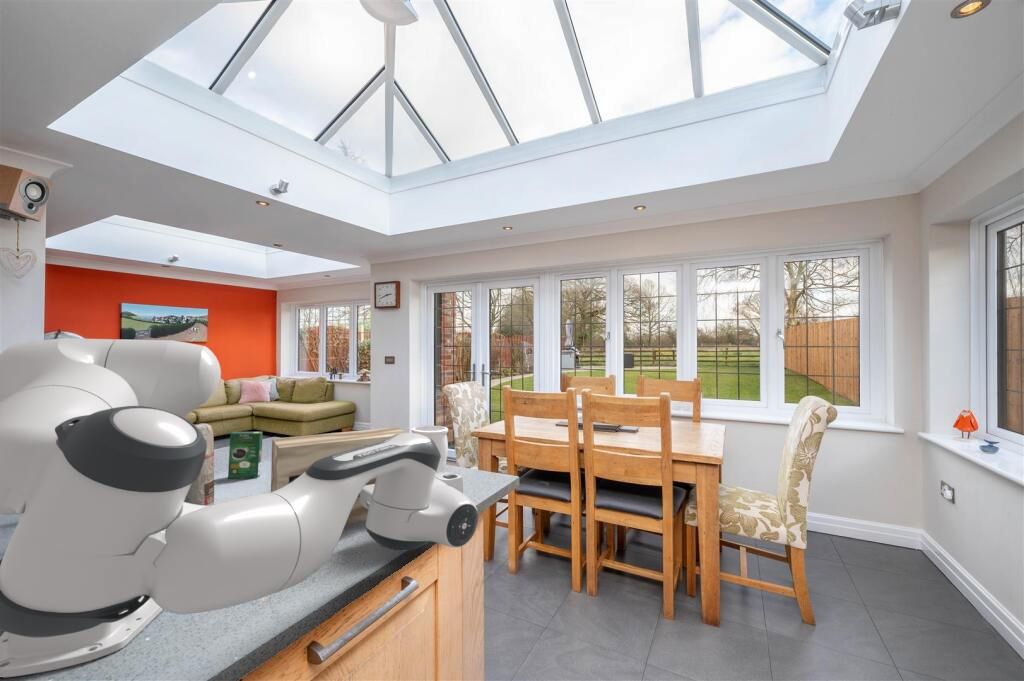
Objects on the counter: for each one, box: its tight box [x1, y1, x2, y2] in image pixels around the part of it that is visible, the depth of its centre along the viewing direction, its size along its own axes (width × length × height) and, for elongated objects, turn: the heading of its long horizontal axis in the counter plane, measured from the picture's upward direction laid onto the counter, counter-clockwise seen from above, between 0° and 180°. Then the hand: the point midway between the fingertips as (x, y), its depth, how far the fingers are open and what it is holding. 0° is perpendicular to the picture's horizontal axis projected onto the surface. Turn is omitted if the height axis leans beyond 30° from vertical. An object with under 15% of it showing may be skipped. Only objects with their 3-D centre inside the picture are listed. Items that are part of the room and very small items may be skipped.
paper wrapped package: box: [184, 423, 215, 506], centre depth 98 cm, size 8×8×20 cm
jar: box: [411, 425, 449, 474], centre depth 126 cm, size 11×10×15 cm
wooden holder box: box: [270, 426, 410, 525], centre depth 98 cm, size 10×28×18 cm, turn 125°
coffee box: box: [227, 431, 263, 479], centre depth 125 cm, size 8×3×13 cm, turn 103°
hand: (398, 480), depth 96 cm, fingers closed
